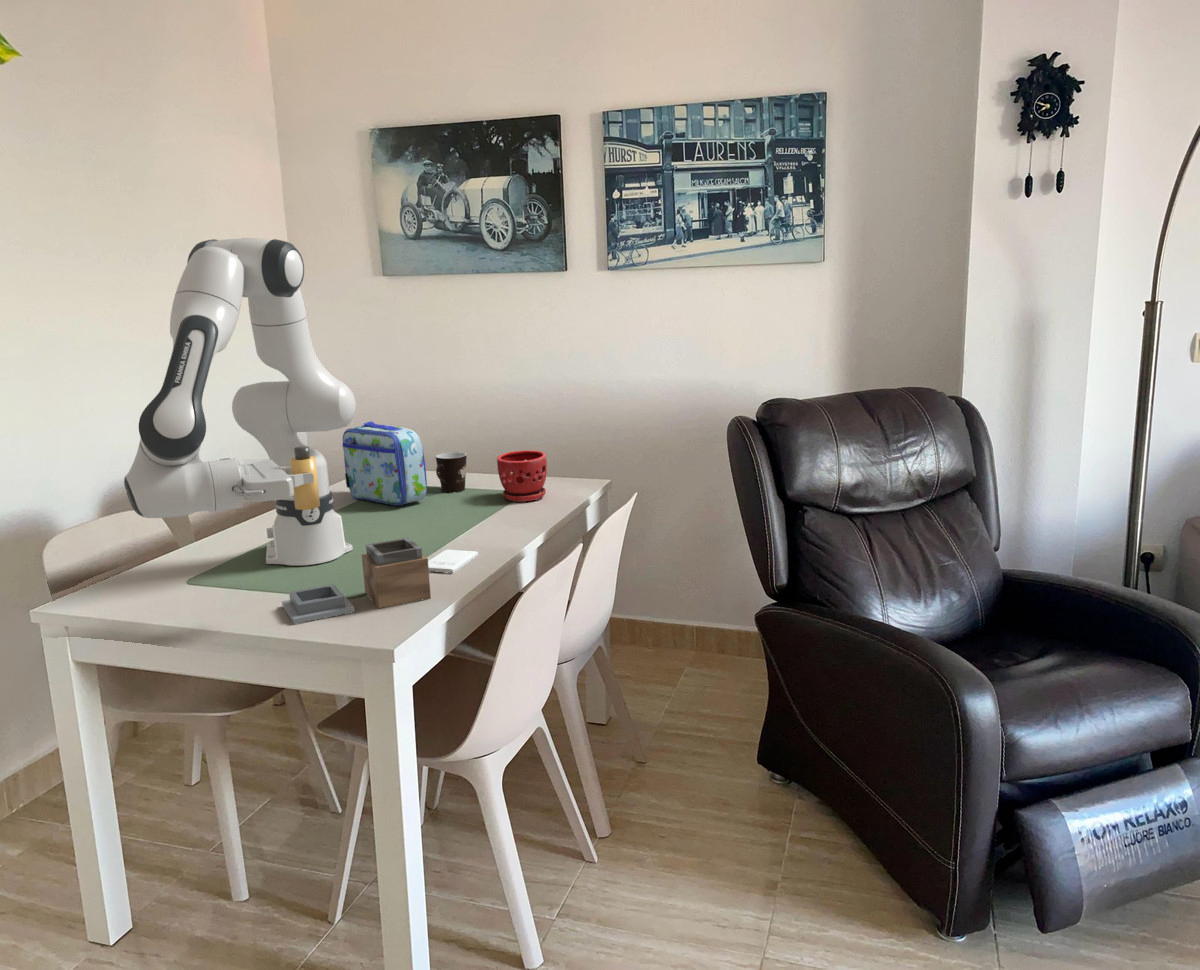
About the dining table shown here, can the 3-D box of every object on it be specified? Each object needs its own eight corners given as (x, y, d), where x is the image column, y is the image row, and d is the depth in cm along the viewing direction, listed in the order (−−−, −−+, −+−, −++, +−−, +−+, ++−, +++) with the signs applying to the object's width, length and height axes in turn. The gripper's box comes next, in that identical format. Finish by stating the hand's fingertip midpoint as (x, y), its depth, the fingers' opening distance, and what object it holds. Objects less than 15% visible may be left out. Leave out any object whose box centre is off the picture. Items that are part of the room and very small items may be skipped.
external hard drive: (478, 558, 211) (453, 576, 200) (444, 556, 213) (418, 573, 202) (478, 551, 211) (453, 568, 199) (444, 549, 213) (417, 566, 202)
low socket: (282, 606, 183) (280, 591, 183) (340, 595, 188) (338, 580, 188) (294, 624, 174) (292, 608, 173) (354, 612, 179) (353, 597, 178)
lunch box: (341, 497, 267) (334, 423, 262) (373, 490, 275) (367, 417, 270) (399, 511, 250) (392, 432, 245) (432, 503, 258) (426, 425, 253)
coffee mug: (457, 485, 278) (455, 450, 275) (474, 489, 271) (472, 454, 269) (422, 492, 270) (420, 457, 268) (440, 497, 264) (437, 461, 262)
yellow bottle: (292, 506, 177) (286, 447, 175) (317, 502, 179) (311, 444, 177) (297, 511, 174) (291, 451, 171) (322, 507, 176) (316, 448, 173)
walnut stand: (365, 593, 189) (360, 544, 187) (414, 583, 194) (410, 536, 191) (379, 608, 181) (374, 557, 178) (430, 598, 185) (426, 548, 183)
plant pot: (502, 493, 267) (500, 450, 264) (550, 492, 266) (548, 449, 263) (496, 505, 254) (493, 460, 251) (545, 504, 253) (543, 459, 250)
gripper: (235, 477, 160) (320, 467, 166) (219, 457, 177) (296, 448, 184) (240, 514, 161) (323, 502, 167) (223, 490, 179) (299, 480, 185)
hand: (309, 474), depth 176 cm, fingers closed on yellow bottle, 4 cm apart
